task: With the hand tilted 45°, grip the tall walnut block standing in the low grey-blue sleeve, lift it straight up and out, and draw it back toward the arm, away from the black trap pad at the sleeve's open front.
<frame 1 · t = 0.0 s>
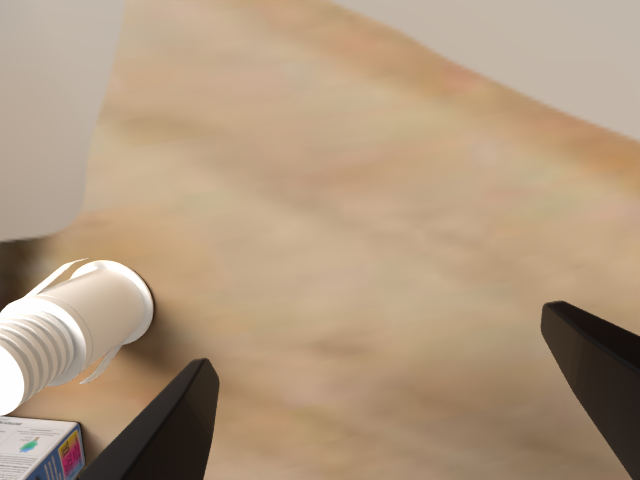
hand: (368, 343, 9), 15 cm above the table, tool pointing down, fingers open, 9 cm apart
ink cartridge box: (35, 439, 31), on the table
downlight: (112, 300, 27), on the table
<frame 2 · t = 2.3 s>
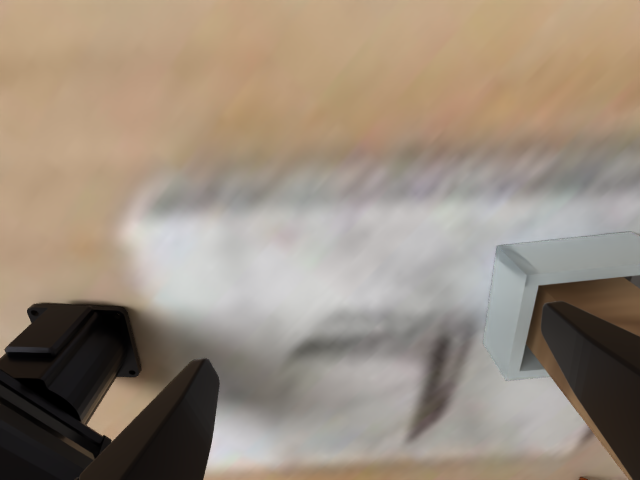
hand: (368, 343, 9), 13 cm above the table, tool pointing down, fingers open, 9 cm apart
walnut block: (625, 363, 18), in the sleeve
sleeve: (550, 292, 24), on the table
carrot: (579, 475, 35), on the table
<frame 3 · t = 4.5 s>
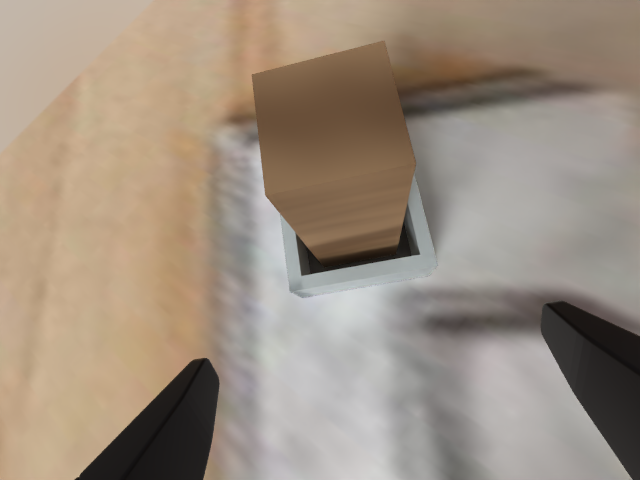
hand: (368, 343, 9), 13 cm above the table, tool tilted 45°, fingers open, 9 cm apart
walnut block: (344, 190, 18), in the sleeve
sleeve: (353, 227, 24), on the table
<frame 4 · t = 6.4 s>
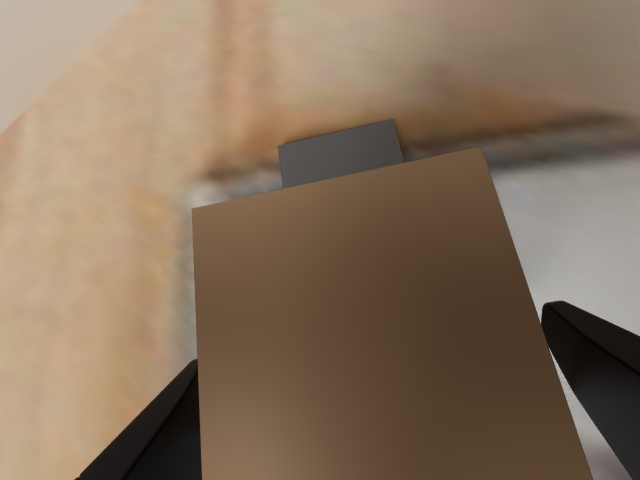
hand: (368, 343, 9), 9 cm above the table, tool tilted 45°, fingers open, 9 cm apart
walnut block: (369, 335, 11), in the sleeve
sleeve: (373, 336, 17), on the table
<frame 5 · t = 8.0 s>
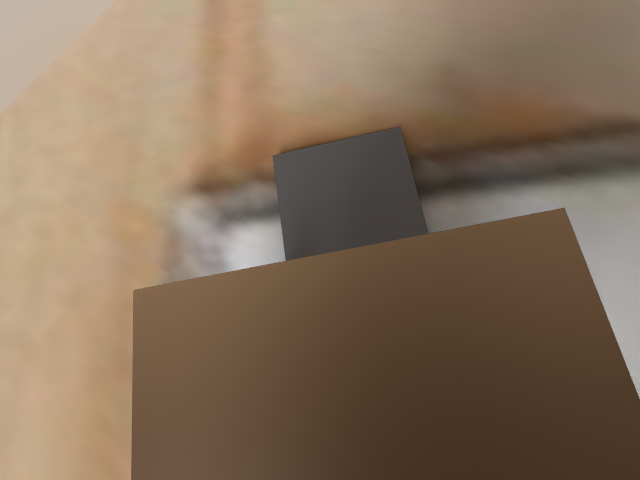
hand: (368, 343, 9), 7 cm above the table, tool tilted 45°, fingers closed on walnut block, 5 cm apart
walnut block: (378, 395, 9), in the sleeve, touching gripper
sleeve: (379, 372, 15), on the table
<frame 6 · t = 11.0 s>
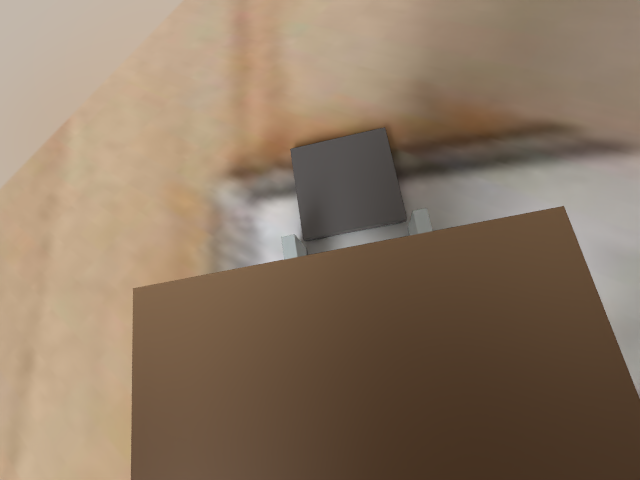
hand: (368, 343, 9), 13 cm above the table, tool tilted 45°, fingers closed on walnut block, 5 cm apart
walnut block: (378, 394, 9), point 12 cm above the table, touching gripper
sleeve: (368, 301, 22), on the table
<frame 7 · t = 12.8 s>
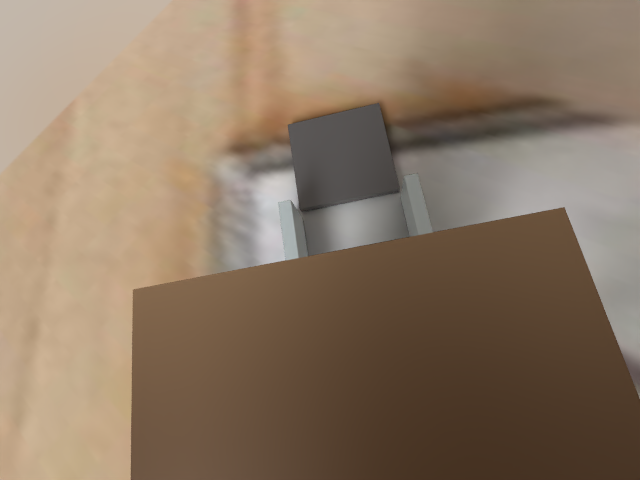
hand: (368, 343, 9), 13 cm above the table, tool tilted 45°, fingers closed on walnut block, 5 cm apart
walnut block: (378, 395, 9), point 12 cm above the table, touching gripper
sleeve: (362, 267, 23), on the table
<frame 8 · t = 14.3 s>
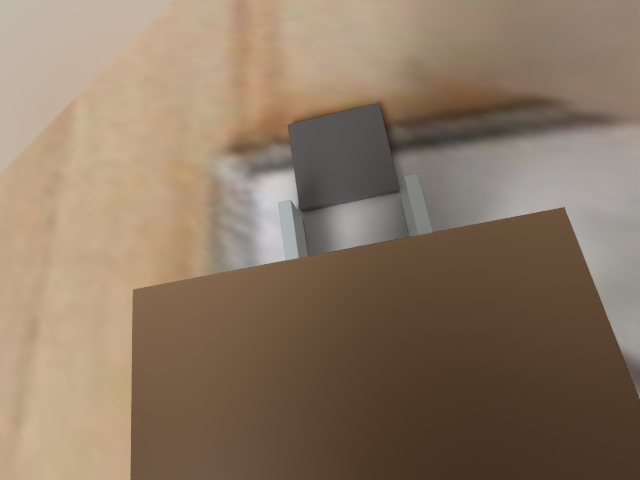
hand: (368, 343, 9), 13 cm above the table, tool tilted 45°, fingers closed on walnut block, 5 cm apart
walnut block: (378, 395, 9), point 12 cm above the table, touching gripper
sleeve: (362, 267, 23), on the table
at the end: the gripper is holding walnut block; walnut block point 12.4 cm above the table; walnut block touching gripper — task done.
